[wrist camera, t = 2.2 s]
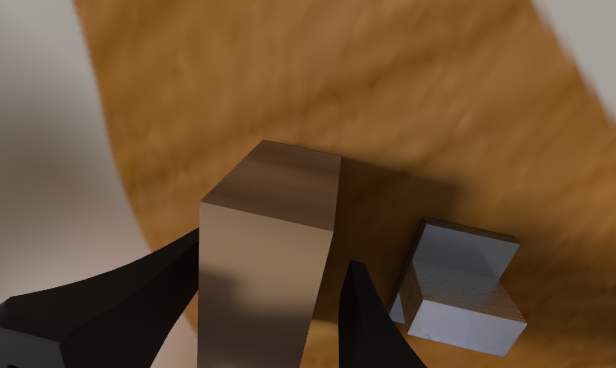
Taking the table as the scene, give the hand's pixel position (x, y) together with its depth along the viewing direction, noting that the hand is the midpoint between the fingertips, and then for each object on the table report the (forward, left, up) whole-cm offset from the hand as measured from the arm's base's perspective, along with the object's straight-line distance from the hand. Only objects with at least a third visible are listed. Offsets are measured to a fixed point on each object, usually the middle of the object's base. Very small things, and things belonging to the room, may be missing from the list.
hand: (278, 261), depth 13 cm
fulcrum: (0, -8, -2) cm, 8 cm away
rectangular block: (0, 0, -2) cm, 2 cm away
